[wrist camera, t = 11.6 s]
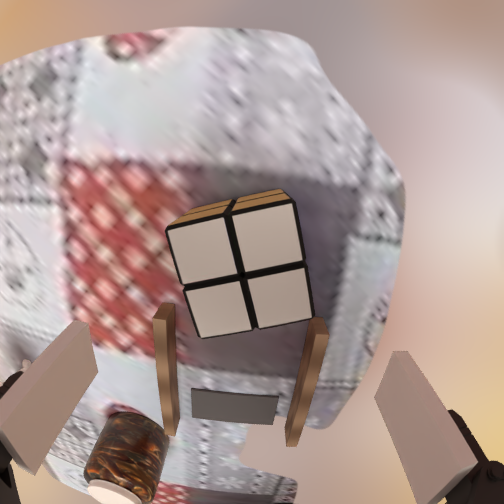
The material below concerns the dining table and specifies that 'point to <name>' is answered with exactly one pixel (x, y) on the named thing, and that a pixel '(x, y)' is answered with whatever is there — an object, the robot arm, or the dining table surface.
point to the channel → (303, 387)
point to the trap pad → (233, 407)
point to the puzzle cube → (242, 264)
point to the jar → (127, 460)
